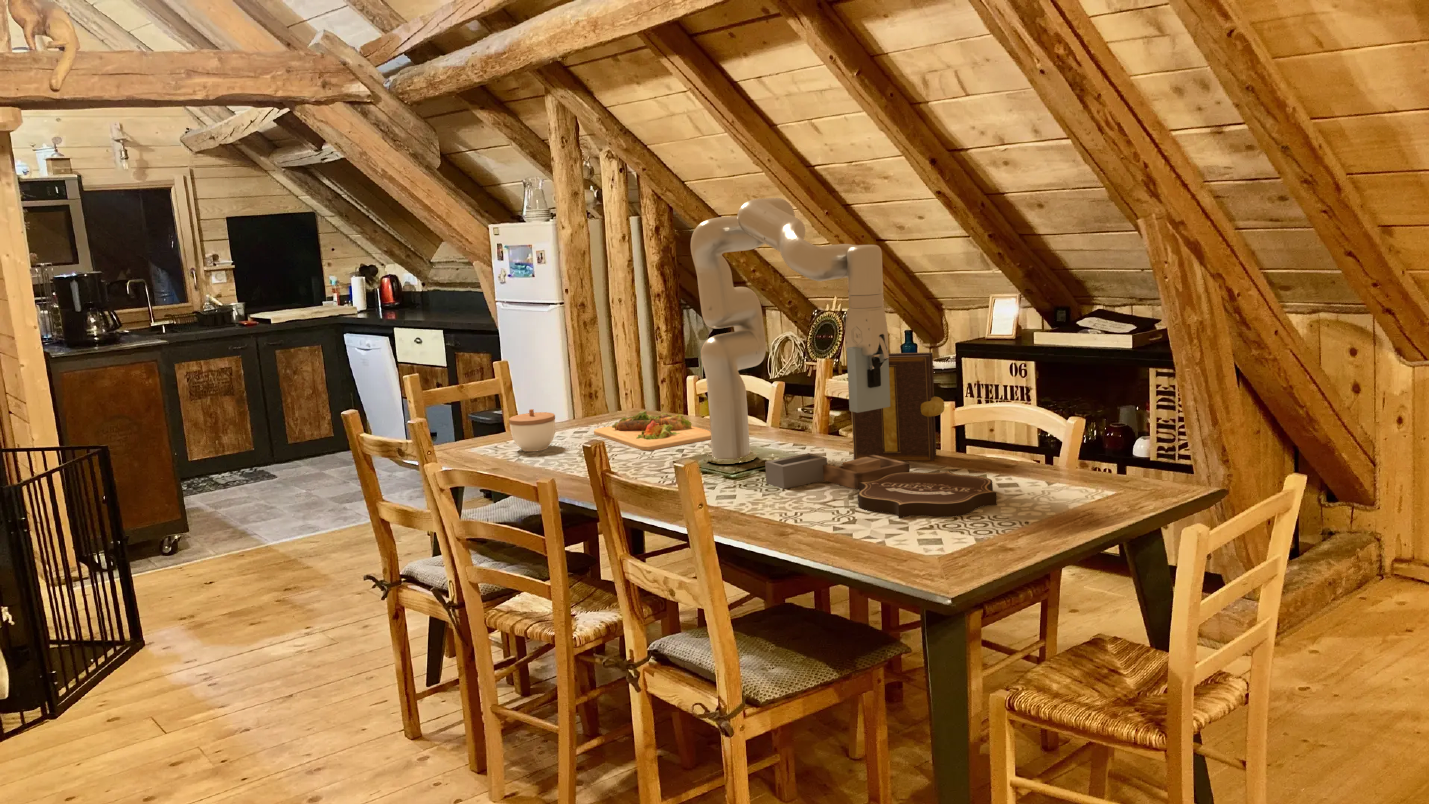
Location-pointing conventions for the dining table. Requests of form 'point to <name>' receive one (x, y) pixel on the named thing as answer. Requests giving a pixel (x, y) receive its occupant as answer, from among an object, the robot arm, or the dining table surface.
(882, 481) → the decorative plaque
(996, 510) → the dining table surface
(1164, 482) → the dining table surface
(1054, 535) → the dining table surface
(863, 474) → the square wooden tray
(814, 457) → the holder
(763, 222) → the robot arm
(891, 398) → the book
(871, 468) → the offcut top
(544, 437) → the lidded bowl
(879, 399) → the panel
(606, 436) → the cutting board
